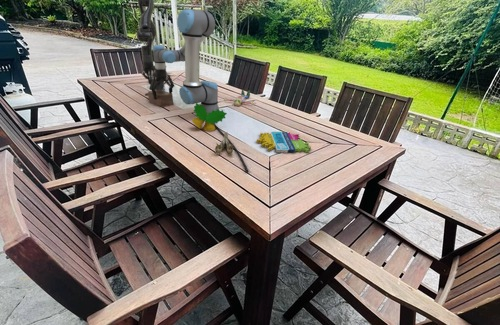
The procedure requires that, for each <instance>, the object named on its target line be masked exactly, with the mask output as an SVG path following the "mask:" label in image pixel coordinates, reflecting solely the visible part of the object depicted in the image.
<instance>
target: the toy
mask: <svg viewBox="0 0 500 325" xmlns="http://www.w3.org/2000/svg"><path fill="white" fill-rule="evenodd" d="M240 92H241V93H240V95H238V96H237V97H235V99H233V98H230V99H228V98H227V97H226V96H225V97H224V98H223V101H224V102H233V103H232V104H233V105H235V106H242V103H243V104H247V105H252V106H255V105H256V104H257V103H256V102H254V101H253V100H252V101H251V102H250V101H248V100H246V99H248V98H250V97H251V90H250V89H249V90H248V91H247V92H246V93H245V91H244V89H242V90H241V91H240Z"/></svg>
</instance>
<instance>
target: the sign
mask: <svg viewBox="0 0 500 325" xmlns="http://www.w3.org/2000/svg"><path fill="white" fill-rule="evenodd" d="M299 136H300V135H299V134H298V133H296V134H294V133H291V132H287V131H270V132H264V133H263V132H260V133H259V139H258V138H257V139H256V143H257V144H261V148H263V147H264V148H265V149H267V151H268V152H271V151H272V150H273V149H275V152H276V153H283V154H285V153H287V154H288V153H290V154H293V153H296V152H298V153H301V152H305V153H310V151H311V150H312V149H311V148H312V146H309V142H304V141H303V139H302V138H299Z"/></svg>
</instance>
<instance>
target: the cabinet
mask: <svg viewBox="0 0 500 325" xmlns="http://www.w3.org/2000/svg"><path fill="white" fill-rule="evenodd" d="M155 91H156V97H157V100H155V99H154V96H153V94H152V90H148V91H147V93H148V94H149V97H148V101H149V103H150V104H154V105H155V106H158V107H161V108H163V107H168V106H172V105H174V96H173V92H172V93H169V91H166V90H155Z"/></svg>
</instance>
